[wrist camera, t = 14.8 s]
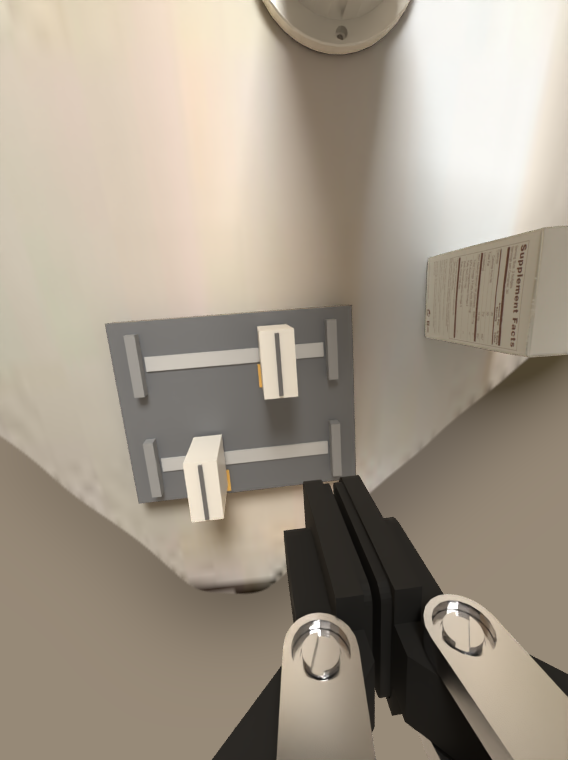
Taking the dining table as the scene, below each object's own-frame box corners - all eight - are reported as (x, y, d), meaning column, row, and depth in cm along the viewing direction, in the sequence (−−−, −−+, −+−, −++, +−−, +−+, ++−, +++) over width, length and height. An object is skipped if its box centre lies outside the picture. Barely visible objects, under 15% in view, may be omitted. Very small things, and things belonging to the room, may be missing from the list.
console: (114, 322, 29) (99, 324, 26) (345, 305, 30) (355, 305, 28) (145, 491, 32) (135, 510, 30) (349, 468, 34) (359, 483, 31)
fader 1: (193, 437, 29) (182, 465, 24) (221, 434, 29) (216, 461, 24) (200, 487, 30) (191, 524, 25) (227, 484, 31) (223, 520, 26)
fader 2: (256, 326, 28) (258, 331, 23) (286, 323, 28) (294, 328, 23) (261, 383, 29) (264, 400, 24) (289, 380, 29) (298, 397, 24)
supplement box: (503, 252, 31) (670, 219, 19) (494, 334, 33) (643, 353, 20) (425, 255, 30) (545, 223, 18) (421, 338, 32) (528, 360, 20)
